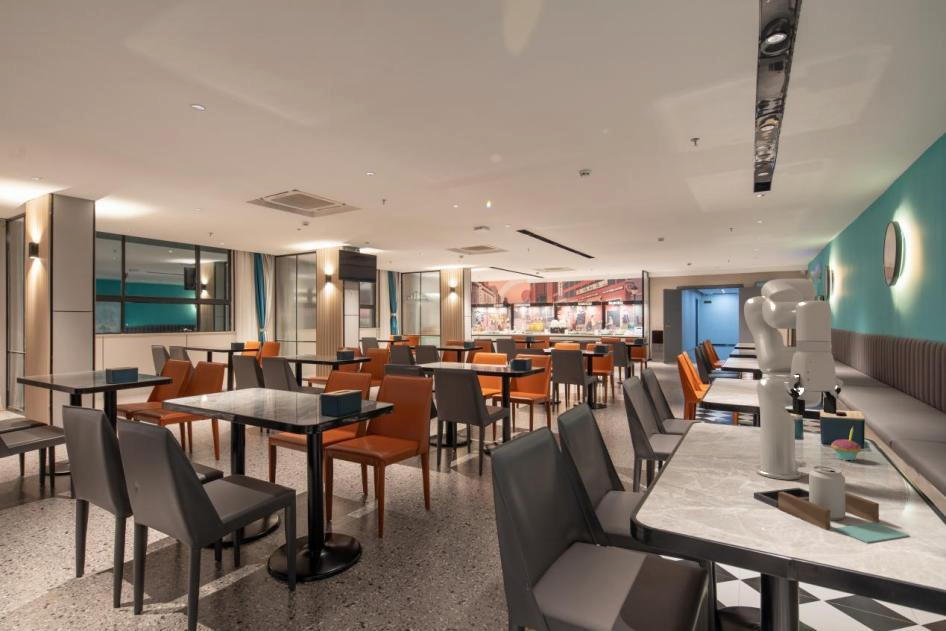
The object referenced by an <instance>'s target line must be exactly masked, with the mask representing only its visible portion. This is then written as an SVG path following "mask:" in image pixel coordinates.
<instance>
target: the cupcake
mask: <svg viewBox="0 0 946 631" xmlns="http://www.w3.org/2000/svg"><path fill="white" fill-rule="evenodd" d="M853 433H854V426H852V428H850V432H849V436H848V437H849V439H847V438H846V439H845V438H844V439H842V438H841V439H836V440H834V441H832V442H831V445H830V447H831V449H834V451H835V453H836V457H837V459H838V458H840V459H845V460H855V461H856V458H857V455H858V453H860V452H862V447H861V445H860V444H858V443H857V442H856V441H854V440H852V438H853ZM840 459H839V460H840Z"/></svg>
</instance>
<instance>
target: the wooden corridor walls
mask: <svg viewBox="0 0 946 631" xmlns="http://www.w3.org/2000/svg"><path fill="white" fill-rule="evenodd" d="M778 510H779V511H781V512H784V513H786V514H788V515H791V516H793V517H796V518H798V519H799V520H802V521H805V522H807V523H809V524H812V525H814V526H816V527H819V528H821V529H824V530H826V531H827V530H831V520H830V510H829V509H826V508H824V507H821V506H819V505H816V504H813V503H811V502H808V501H806V500H803V499H800V498H798V497H795V496H793V495H790V494H787V493H785V492H778ZM845 513H847V514H850V515H853V516H856V517H858V518H862V519H864V520H866V521H870V522H871V523H874V522H876V523H879V522H880V505H879V503H878V502H875V501H872V500H869V499H866V498H863V497H860V496H857V495H855V494H852V493H848V492H846V491H845Z"/></svg>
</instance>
